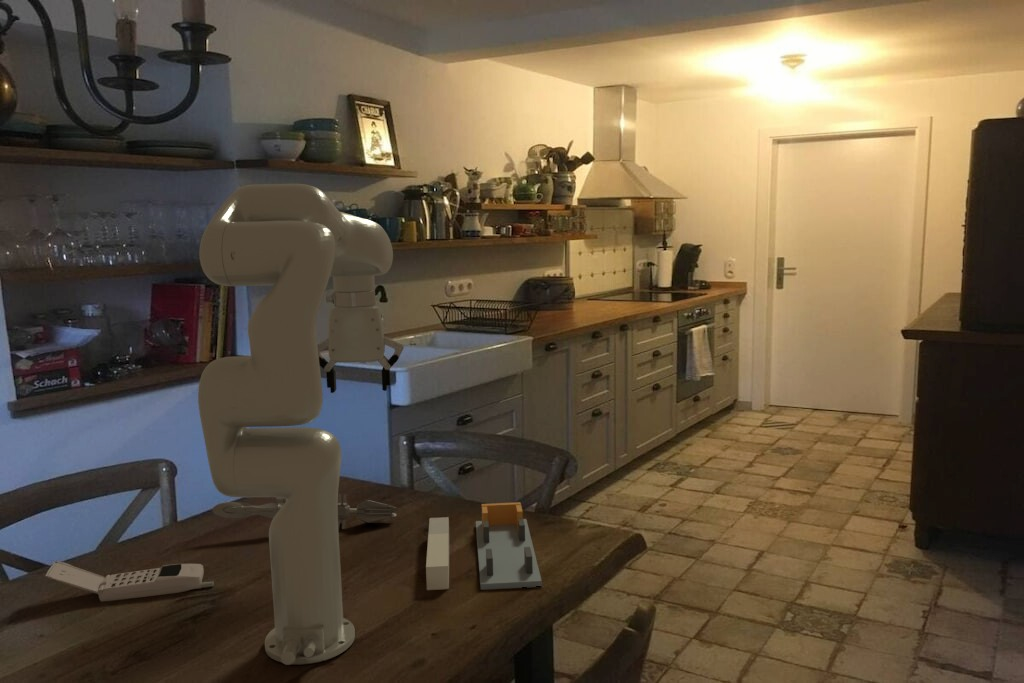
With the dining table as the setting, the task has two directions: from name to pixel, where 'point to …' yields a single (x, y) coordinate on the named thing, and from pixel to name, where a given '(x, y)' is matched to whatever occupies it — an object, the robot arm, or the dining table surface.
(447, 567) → the long cream stick
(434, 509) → the dining table surface
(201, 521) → the dining table surface
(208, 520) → the dining table surface
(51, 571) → the mobile phone
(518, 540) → the clip rail
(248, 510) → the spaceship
